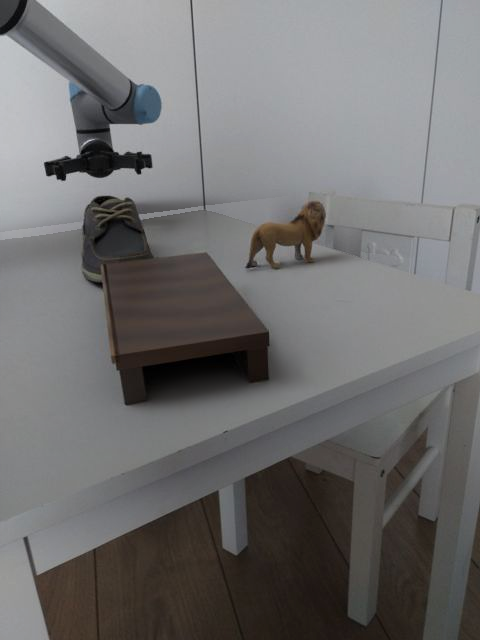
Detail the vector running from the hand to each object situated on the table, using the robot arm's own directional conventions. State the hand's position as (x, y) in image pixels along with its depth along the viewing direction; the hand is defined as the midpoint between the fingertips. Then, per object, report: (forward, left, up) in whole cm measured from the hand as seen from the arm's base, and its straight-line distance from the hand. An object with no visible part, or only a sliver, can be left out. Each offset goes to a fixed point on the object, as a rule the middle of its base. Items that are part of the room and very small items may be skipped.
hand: (100, 170), depth 104 cm
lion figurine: (+29, +26, -13) cm, 41 cm away
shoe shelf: (+51, +5, -13) cm, 53 cm away
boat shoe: (+20, -1, -13) cm, 23 cm away
